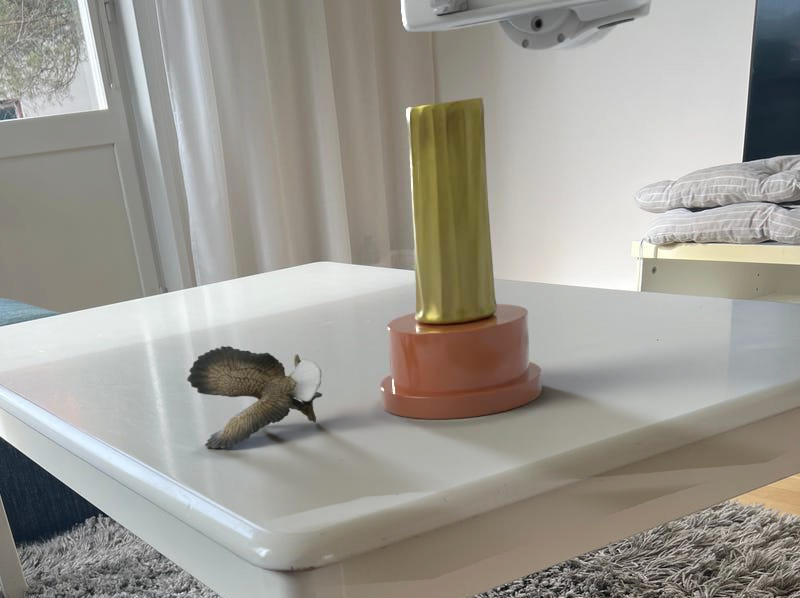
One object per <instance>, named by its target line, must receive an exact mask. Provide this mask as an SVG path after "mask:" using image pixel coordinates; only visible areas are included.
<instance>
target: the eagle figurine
mask: <svg viewBox="0 0 800 598" xmlns="http://www.w3.org/2000/svg"><path fill="white" fill-rule="evenodd" d="M293 358H294V359H293V360H294V361H293V365H294V369H293V370H292V371H291V373H290V374H289V375H286V372H285V367H284V365H283V362H280V360H279V359H277V358H276V357H275V356H274V355H272V354H270V353H269V352H263V353H262V352H260V353H257V352H252V351H250V350H240V348H234V347H232V346H230V345H227V346H223V345H222V346H220V348H219V347H216V348H214V349H210V350H209V351H206V352H204V353H203V354H200V355H198V356H197V359H196V360H194V361H193V362H192V367H190V368H189V373H190V374H189V375H188V377H187V379H186V381H187V382H189V383H190V386H191V387H192V388H195V389H197V390H196V392H197V393H198V394H201V395H206V396H207V395H209V396H220V397H228V398H238V397H252V398H255V399H257V401H256V402H254V403H252V404H251V405H249V406H248V407H246V408H244V409H242V410H241V411H239V412H237V413H236V414H234V415H233V416H231V417H230V419H229V420H228V421H227V422H226V423H225V425H224V426H223V427H222V428H221V429H220V430H218V431H216V432H214V433H212V434H211V435H210V438H208V439H207V440H206V443H204V446H205V447H206V448H207V449H211V448H212V449H217V448H221V449H225V448H231V447H234V446H236V445H238V444H241V443H243V442H244V441H245V440H248V439H249V438H250V437H251V436H252V435H253V434H255V433H258V432H259V431H260V430H261V429H262V428H265V427H266V426H269V425H270V424H275V423H280V422H281V421H283V420H284V418H285V417H288V416H289V413H290V412H291V410H296V411H298V412H300V413H302V414H303V416H305V417H307V420H308V421H310V422H313V423H316V422H317V416H316V414H315V410H314V400H316V399H319V398H322V397H323V393H322V392H318V390H319V388H320V387H321V385H322V370H321V367H320V366H319V365H318V364H317V363H316V362H315V361H312V360H311V359H308V358H304V359H302V360H301V358H300V356H299V354H295V355H294V357H293Z"/></svg>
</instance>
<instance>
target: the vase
mask: <svg viewBox="0 0 800 598" xmlns="http://www.w3.org/2000/svg"><path fill="white" fill-rule="evenodd" d="M484 107H485V106H484V99H483V97H477V98H468V99H461V100H453V101H452V100H451V101H446V102H438V103H432V104H424V105H418V106H417V105H416V106H411V107H407V108H406V122H407V135H408V146H409V147H408V148H409V167H410V169H409V170H410V185H411V187H410V188H411V207H412V224H413V225H412V226H413V240H414V241H413V242H414V279H415V281H414V282H415V313H416V315H415V318H416V320H417V321H418V322H421V323H425V324H452V323H462V322H469V321H474V320H479V319H483V318H486V317H489V316H491V315H493V314H494V313H495V312H496V309H497V305H496V304H497V300H496V292H495V291H496V289H495V278H494V277H495V275H494V264H493V252H492V251H493V250H492V238H491V225H490V210H489V209H490V207H489V194H488V176H487V156H486V155H487V154H486V153H487V152H486V133H485V131H486V130H485V108H484Z"/></svg>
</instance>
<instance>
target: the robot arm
mask: <svg viewBox="0 0 800 598" xmlns="http://www.w3.org/2000/svg"><path fill="white" fill-rule="evenodd" d="M651 4H652V0H400V5H401V6H400V7H401V16H402V17H401V18H402V23H403V24H402V25H403V27H404V29H405V31H407V32H411V33H423V32H424V33H425V32H426V33H427V32H429V33H430V32H444V31H453V30H458V29H464V28H470V27H475V26H482V25H488V24H493V23H497V24H498V25H499V28H500V29H501V31H502V32H503V34H504V35H505V36H506V37H507V39H508V40H510V41H511V42H512V43H513V44H514V45H517V46H518V47H520V48H521V49H522V48H523V49H525V50H529V51H576V50H582V49H586V48H589V47H591V46H594V45H596V44H598V43H599V42H600V41H602V40H604V39H605V38H606V37H607V36H608V35H610V34H611V32H612V31H613V30H615V28H616V27H617V25H622V24H625V23H630V22H634V21H635V20H637V19H644V18H646V17H647V16H649V14H650V11H651Z"/></svg>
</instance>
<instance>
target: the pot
mask: <svg viewBox="0 0 800 598" xmlns="http://www.w3.org/2000/svg"><path fill="white" fill-rule="evenodd" d="M496 305H497V309H496V312H495V313H494V314H493V315H491V316H489V317H486V318H483V319H479V320H474V321H469V322H462V323H452V324H425V323H421V322H418V321H417V320H416V318H415V315H416V312H413V313H409V314H405V315H402V316H399V317H397V318H394V319H392V320H391V321H389V322H387V325H386V334H387V343H388V345H387V346H388V355H389V356H388V357H389V368H390V374H389V375H388V376H386V377H385V378H384V379H382V381H380V384H379V385H380V396H381V398H380V399H381V406H382V408H383V409H384V410H385V411H386V412H388V413H390V414H393V415H395V416H399V417H405V418H409V419H410V418H411V419H422V420H423V419H424V420H448V419H449V420H452V419H463V418H474V417H481V416H486V415H488V416H489V415H492V414H497V413H501V412H507V411H510V410H513V409H517V408H519V407H523V406H524V405H527V404H529V403H531V402H533V401H535V400H536V399H538V398H539V397H540V396H541V394H542V391H543V385H542V384H543V383H542V381H543V379H542V368H541V367H540V366H539V365H538V364H537V363H534V362H532V361H530V334H529V333H530V332H529V330H530V329H529V311H528V309H527V308H525V307H523V306H519V305H516V304H515V305H514V304H505V303H504V304H503V303H496Z"/></svg>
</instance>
